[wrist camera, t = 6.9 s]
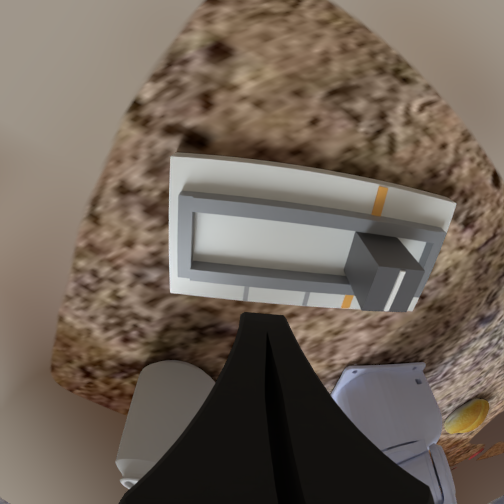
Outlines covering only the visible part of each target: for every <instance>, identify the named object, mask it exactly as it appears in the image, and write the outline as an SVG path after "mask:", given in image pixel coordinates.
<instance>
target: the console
mask: <svg viewBox="0 0 504 504" xmlns="http://www.w3.org/2000/svg"><path fill="white" fill-rule="evenodd" d="M456 204H457V203H455V202H454V201H452V200H451V199H449V198H448V197H445V196H441V195H438V194H434V193H430V192H426V191H422V190H419V189H415V188H411V187H407V186H402V185H398V184H394V183H390V182H385V181H381V180H376V179H371V178H367V177H362V176H357V175H352V174H347V173H341V172H336V171H330V170H325V169H319V168H313V167H307V166H300V165H294V164H287V163H280V162H272V161H265V160H256V159H248V158H239V157H229V156H219V155H207V154H195V153H180V152H176V153H174V154H173V155H172V156H171V160H170V186H169V272H170V293H177V294H185V295H194V296H203V297H211V298H221V299H230V300H240V301H251V302H262V303H273V304H286V305H299V306H313V307H328V308H345V309H361V308H360V306H359V303H358V301H357V299H356V297H355V294H354V292H353V290H352V288H351V286H350V283H349V281H348V279H347V277H346V275H345V273H344V267H345V264H346V261H347V257H348V254H349V251H350V248H351V244H352V241H353V237H354V234H355V231H357V232H364V233H371V234H378V235H384V236H391V237H397V238H398V239H399V240H400V241H401V243H402V244H403V245H404V246H405V247H406V248H407V250H408V251H409V252H410V253H411V254H412V256H413V257H414V258H415V259H416V260H417V262H418V263H419V264H420V265H421V267H422V268H423V269H424V270H425V273H424V275H423V277H422V280H421V282H420V284H419V286H418V289H417V291H416V293H415V295H414V297H413V299H412V301H411V303H410V305H409V308H408V310H407V311H413V309H414V307H415V305H416V303H417V301H418V299H419V297H420V295H421V293H422V291H423V289H424V286H425V284H426V282H427V280H428V278H429V275H430V273H431V271H432V268H433V266H434V264H435V261H436V259H437V257H438V254H439V252H440V249H441V247H442V244H443V241H444V239H445V236H446V234H447V230H448V227H449V225H450V222H451V219H452V216H453V213H454V210H455V207H456Z"/></svg>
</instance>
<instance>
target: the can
mask: <svg viewBox="0 0 504 504" xmlns="http://www.w3.org/2000/svg"><path fill="white" fill-rule="evenodd" d="M214 385H215V382H214V380H213V379H212V378H211V377H210V376H209V375H207V374H206V373H205V372H204V371H203V370H201V369H200V368H198V367H197V366H195V365H192V364H190V363H187V362H183V361H178V360H164V361H160V362H157V363H152V364H149V365H148V366H146V367H145V368H143V370H142V371H141V373H140V376H139V379H138V382H137V385H136V389H135V392H134V396H133V399H132V402H131V406H130V409H129V413H128V416H127V420H126V424H125V427H124V431H123V435H122V439H121V442H120V446H119V450H118V454H117V459H116V465H117V467H118V469H119V470H120V472H121V473H122V475H123V478H121V479H120V482H121V483H122V485H124V486H125V487H127V488H128V489H130V488H131V487H132V486H134V485H135V484H136V483H137V482H138V481H139V480H140V479H141V478H142V477H143V476H144V475H145V474H146V473H147V472H148V471H149V470H150V469H151V468H152V467H153V466H154V465H155V464H156V463H157V462H158V461H159V460H160V459H161V458H162V456H163V455H164V454H165V453H166V452H167V451H168V450H169V448H170V447H171V446H172V445H173V444H174V443H175V442H176V440H177V439H178V438H179V437H180V435H181V434H182V433H183V431H184V430H185V429H186V427H187V426H188V425H189V423H190V422H191V420H192V419H193V418H194V416H195V415H196V414H197V412H198V411H199V409H200V408H201V406H202V404H203V403H204V401H205V400H206V398H207V396H208V395H209V393H210V391H211V390H212V388H213V386H214Z"/></svg>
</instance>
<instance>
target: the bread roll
mask: <svg viewBox="0 0 504 504" xmlns="http://www.w3.org/2000/svg"><path fill="white" fill-rule="evenodd" d="M488 411H489V403H488V401H486V400H484V399H479V398H475V399H473V400H471V401H469V402H467V403H465V404H464V405H462V406H461V407H459V408H457V409H456V410H455V411H453V412H452V413H451V414H450V415H449V416H448V418H447V419H446V421H445V423H444V426H445V430H446V431H447V432H448V433H451V434H453V433H457V432H459V433H465V432H469V431H472V430H474V429H475V428H477V427H478V426H479V425H481V423H482V422H483V421H484V419H485V418H486V416H487V413H488Z"/></svg>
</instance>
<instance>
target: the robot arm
mask: <svg viewBox="0 0 504 504" xmlns="http://www.w3.org/2000/svg"><path fill="white" fill-rule="evenodd" d="M425 367H426V364H425V363H424V362H417V363H404V364H388V365H364V366H348V367H346V368H345V369H344V371H343V373H342V375H341V377H340V379H339V381H338V382H337V384H336V386H335V388H334V390H333V391H332V393H331V395H330V394H329V392H328V391H327V389H326V388H325V387H324V385H323V384H322V382H321V381H320V379H319V378H318V376H317V375H316V373H315V372H314V370H313V368H312V367H311V365H310V363H309V362H308V360H307V358H306V357H305V355H304V353H303V351H302V350H301V348H300V346H299V344H298V342H297V340H296V338H295V336H294V334H293V332H292V330H291V328H290V326H289V324H288V322H287V320H286V318H285V317H284V315H273V314H261V313H249V312H244V313H242V314H241V315H240V323H239V329H238V332H237V336H236V339H235V342H234V344H233V347H232V349H231V352H230V354H229V356H228V359H227V361H226V363H225V365H224V367H223V369H222V371H221V373H220V375H219V377H218V379H217V381H216V383H215V385H214V386H213V388H212V390H211V391H210V393H209V395H208V396H207V398H206V400H205V401H204V403H203V404H202V406H201V408H200V409H199V411H198V412H197V414H196V415H195V416H194V418H193V419H192V420H191V422H190V423H189V425H188V426H187V427H186V429H185V430H184V431H183V433H182V434H181V435H180V437H179V438H178V439H177V440H176V442H175V443H174V444H173V445H172V446H171V447H170V448H169V450H168V451H167V452H166V453H165V454H164V455H163V456H162V458H161V459H160V460H159V461H158V462H157V463H156V464H155V465H154V466H153V467H152V468H151V469H150V470H149V471H148V472H147V473H146V474H145V475H144V476H143V477H142V478H141V479H140V480H139V481H138V482H137V483H136V484H135V485H134V486H132V487H131V488H130V489H129V490H128V491H127V492H126V493H125V494H124V496H123V497H122V499H121V500H120V502H119V504H457V501H456V497H455V486H454V482H453V478H452V475H451V471H450V468H449V465H448V462H447V459H446V456H445V454H444V451H443V449H442V447H441V446H440V445H436V443H437V441H438V440H439V438H440V435H441V431H442V416H441V412H440V409H439V407H438V404H437V402H436V400H435V397H434V395H433V393H432V390H431V388H430V386H429V384H428V382H427V379H426V377H425V375H424V373H423V370H424V368H425ZM429 449H430V452H431V458H432V461H433V464H434V465H433V464H432V461H431V458H430V454H429V451H428V450H429ZM439 486H440V488H441V491H440V488H439ZM441 492H442V495H441ZM0 504H9V503H8V502H6V501H5V500H3V499H2V498H0ZM488 504H504V495H503V496H501V497H500V498H497V499H495V500H494V501H492V502H490V503H488Z"/></svg>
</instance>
